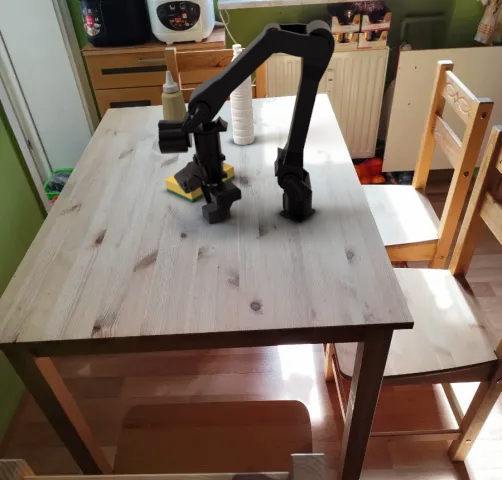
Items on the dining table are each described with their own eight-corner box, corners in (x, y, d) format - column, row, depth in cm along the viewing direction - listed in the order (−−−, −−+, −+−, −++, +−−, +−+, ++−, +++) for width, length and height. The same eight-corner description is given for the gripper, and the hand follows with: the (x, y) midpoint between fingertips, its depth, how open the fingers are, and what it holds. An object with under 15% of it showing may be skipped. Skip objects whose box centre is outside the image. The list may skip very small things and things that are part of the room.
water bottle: (255, 144, 141) (250, 51, 124) (234, 146, 141) (226, 54, 123) (252, 132, 148) (247, 43, 130) (232, 134, 147) (224, 45, 129)
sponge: (209, 168, 132) (208, 156, 130) (234, 178, 127) (233, 166, 125) (167, 191, 124) (164, 179, 122) (192, 202, 119) (190, 190, 117)
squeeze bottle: (162, 130, 153) (151, 70, 140) (185, 125, 155) (176, 65, 142) (170, 139, 148) (159, 77, 135) (193, 133, 150) (185, 72, 137)
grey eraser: (224, 209, 116) (222, 198, 114) (230, 217, 114) (229, 206, 111) (203, 216, 114) (201, 205, 112) (209, 224, 112) (208, 213, 110)
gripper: (160, 145, 106) (172, 206, 117) (191, 177, 94) (201, 241, 105) (204, 133, 109) (212, 193, 120) (240, 163, 97) (245, 227, 108)
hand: (216, 213), depth 113 cm, fingers open, 7 cm apart
